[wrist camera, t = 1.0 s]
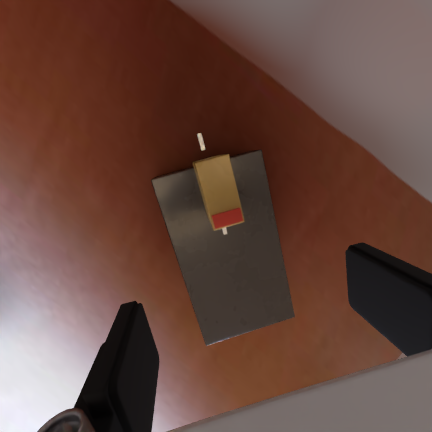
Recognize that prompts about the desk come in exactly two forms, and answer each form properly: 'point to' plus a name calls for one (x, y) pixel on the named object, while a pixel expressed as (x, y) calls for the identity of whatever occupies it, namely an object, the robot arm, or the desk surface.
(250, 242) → the plate
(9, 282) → the desk surface
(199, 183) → the block
